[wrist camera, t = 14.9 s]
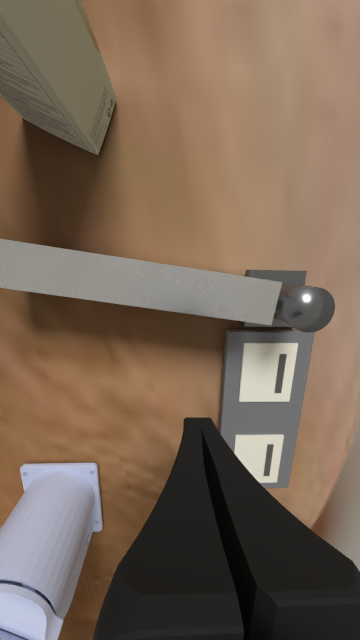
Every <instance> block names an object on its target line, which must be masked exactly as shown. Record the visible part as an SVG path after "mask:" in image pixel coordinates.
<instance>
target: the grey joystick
mask: <svg viewBox="0 0 360 640" xmlns="http://www.w3.org/2000/svg"><path fill="white" fill-rule="evenodd" d="M306 272H307V271H273V270H246V277H252V278H258V279H265V280H271V281H278V282H282V286H281V290H280V294H279V297H278V301H277V305H276V309H275V313H274V317H273V321H272V325H265V324H258V323H251V322H244V321H242V325H243V326H254V327H293V328H295V329H297V330H299V331H302V332H306V333H311V332H316V331H318V330H320V329H322V328H324V327H325V326H326V325H327V324H328V323H329V322H330V320H331V319H332V317H333V314H334V310H335V303H334V299H333V297H332V295H331V294H330V293H329V292H328V291H326V290H325V289H322V288H318V287H310V286H304V285H305V278H306Z"/></svg>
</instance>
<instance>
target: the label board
mask: <svg viewBox="0 0 360 640" xmlns="http://www.w3.org/2000/svg"><path fill="white" fill-rule="evenodd" d="M313 339H314V332H311V333H306V332H302V331H299V330H269V329H226V331H225V346H224V360H223V374H222V389H221V403H220V417H219V432H220V434H221V435H222V437H223V438H224V440H225V441H226V443H227V444H228V445H229V447H230V448H231V449H232V451H233V452H234V454H235V455H236V456H237V457H238V459H239V460H240V461H241V462H242V464H243V465H244V466H245V467H246V468H247V470H248V471H249V472H250V473H251V474H252V475H253V476H254V478H255V479H256V480H257V481H258V482H259V483H260V484H261V485H262V486H263V487H264V488H288V485H289V479H290V473H291V468H292V462H293V456H294V450H295V444H296V438H297V433H298V427H299V421H300V415H301V409H302V403H303V398H304V392H305V386H306V380H307V374H308V368H309V362H310V357H311V351H312V345H313Z"/></svg>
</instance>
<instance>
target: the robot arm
mask: <svg viewBox="0 0 360 640" xmlns="http://www.w3.org/2000/svg"><path fill="white" fill-rule="evenodd" d="M92 471H93V472H92ZM20 472H21V477H22V483H23V488H24V494H23V496H22V497H21V499H20V500H19V502H18V503H17V505H16V506H15V508H14V509H13V511H12V512H11V514H10V515H9V517H8V518H7V520H6V521H5V523H4V524H3V526H2V527H1V529H0V640H58V637H59V634H60V631H61V628H62V624H63V619H64V618H65V616H66V614H67V612H68V610H69V607H70V605H71V602H72V599H73V596H74V593H75V589H76V586H77V583H78V579H79V576H80V573H81V569H82V566H83V563H84V559H85V556H86V553H87V550H88V546H89V543H90V540H91V536H92V533H93V532H99V531H101V530H102V527H103V519H102V508H101V497H100V486H99V474H98V466H97V464H96V463H43V464H24V465H23V466H22V467H21V468H20ZM93 640H360V571H359V570H358V569H357V567H356V566H355V564H354V563H353V561H351V560H350V559H349V558H347V557H346V556H345V555H343V554H342V553H341V552H339V551H338V550H337V549H335V548H334V547H333V546H331V545H330V544H329V543H327V542H326V541H325V540H323V539H322V538H320V537H319V536H318V535H316V534H315V533H314V532H313V531H312V530H310V529H309V528H308V527H307V526H306V525H304V524H303V523H302V522H301V521H299V520H298V519H297V518H296V517H295V516H294V515H292V514H291V513H290V512H289V511H288V510H287V509H286V508H285V507H284V506H283V505H281V504H280V503H279V502H278V501H277V500H276V499H275V498H274V497H273V496H272V495H271V494H270V493H269V492H268V491H267V490H266V489H265V488H264V487H263V486H262V485H261V484H260V483H259V482H258V481H257V480H256V479H255V478H254V476H253V475H252V474H251V473H250V472H249V471H248V470H247V468H246V467H245V466H244V465H243V464H242V462H241V461H240V460H239V459H238V457H237V456H236V455H235V454H234V452H233V451H232V449H231V448H230V447H229V445H228V444H227V443H226V441H225V440H224V438H223V437H222V435H221V434H220V432H219V431H218V429H217V428H216V426H215V424H214V423H213V421H212V419H211V418H185V419H184V428H183V435H182V440H181V443H180V447H179V451H178V454H177V457H176V460H175V462H174V465H173V468H172V471H171V473H170V476H169V478H168V480H167V482H166V485H165V487H164V489H163V491H162V493H161V495H160V497H159V499H158V501H157V503H156V505H155V507H154V509H153V511H152V512H151V514H150V516H149V518H148V519H147V521H146V523H145V525H144V526H143V528H142V530H141V531H140V533H139V535H138V536H137V538H136V539H135V541H134V542H133V544H132V545H131V547H130V548H129V550H128V551H127V553H126V554H125V556H124V557H123V559H122V560H121V562H120V563H119V565H118V567H117V569H116V572H115V574H114V577H113V579H112V581H111V584H110V586H109V589H108V592H107V594H106V597H105V599H104V602H103V605H102V608H101V611H100V614H99V618H98V621H97V625H96V628H95V633H94V637H93Z"/></svg>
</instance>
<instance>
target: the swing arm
mask: <svg viewBox="0 0 360 640" xmlns="http://www.w3.org/2000/svg"><path fill="white" fill-rule="evenodd" d="M281 286H282V282H278V281H271V280H265V279H258V278H252V277H245V276H239V275H232V274H226V273H219V272H213V271H206V270H200V269H193V268H187V267H180V266H174V265H167V264H161V263H154V262H148V261H141V260H135V259H128V258H122V257H115V256H109V255H102V254H96V253H89V252H83V251H76V250H70V249H63V248H57V247H50V246H44V245H37V244H31V243H24V242H18V241H11V240H5V239H0V288H6V289H14V290H21V291H28V292H35V293H42V294H49V295H57V296H64V297H71V298H78V299H85V300H93V301H100V302H107V303H114V304H121V305H129V306H136V307H143V308H150V309H157V310H165V311H172V312H179V313H186V314H193V315H200V316H208V317H215V318H222V319H229V320H236V321H244V322H251V323H258V324H265V325H272V321H273V317H274V313H275V309H276V305H277V301H278V297H279V294H280V290H281Z"/></svg>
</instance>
